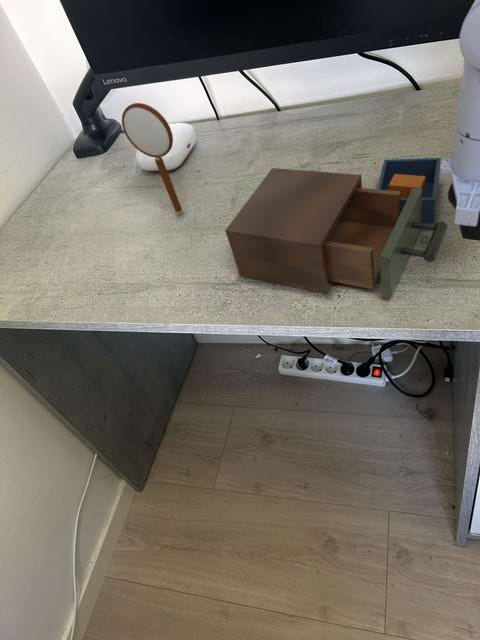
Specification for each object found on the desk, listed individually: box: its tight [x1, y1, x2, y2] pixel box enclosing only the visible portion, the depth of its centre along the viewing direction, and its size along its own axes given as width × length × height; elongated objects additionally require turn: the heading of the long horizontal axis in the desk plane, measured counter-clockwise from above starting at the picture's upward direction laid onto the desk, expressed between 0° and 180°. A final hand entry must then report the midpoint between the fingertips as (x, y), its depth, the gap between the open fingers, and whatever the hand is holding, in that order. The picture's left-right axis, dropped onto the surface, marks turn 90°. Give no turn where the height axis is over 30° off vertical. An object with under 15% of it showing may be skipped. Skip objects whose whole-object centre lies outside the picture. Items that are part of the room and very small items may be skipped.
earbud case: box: [135, 122, 197, 172], centre depth 98 cm, size 10×13×5 cm
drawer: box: [323, 187, 449, 299], centre depth 63 cm, size 17×13×7 cm
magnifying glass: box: [121, 102, 183, 216], centre depth 78 cm, size 9×2×20 cm, turn 65°
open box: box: [376, 157, 442, 224], centre depth 71 cm, size 10×8×4 cm
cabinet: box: [225, 167, 363, 295], centre depth 68 cm, size 14×15×9 cm
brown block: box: [389, 174, 425, 198], centre depth 71 cm, size 4×3×4 cm, turn 62°
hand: (472, 235), depth 56 cm, fingers closed
